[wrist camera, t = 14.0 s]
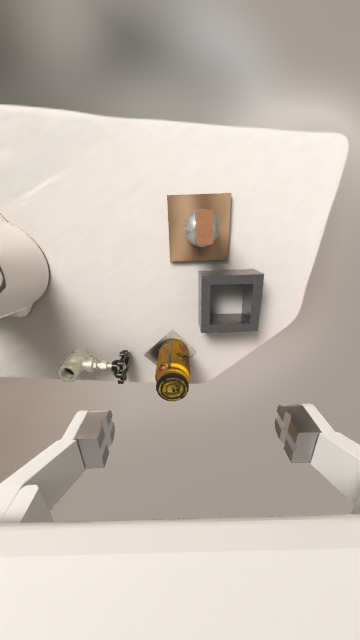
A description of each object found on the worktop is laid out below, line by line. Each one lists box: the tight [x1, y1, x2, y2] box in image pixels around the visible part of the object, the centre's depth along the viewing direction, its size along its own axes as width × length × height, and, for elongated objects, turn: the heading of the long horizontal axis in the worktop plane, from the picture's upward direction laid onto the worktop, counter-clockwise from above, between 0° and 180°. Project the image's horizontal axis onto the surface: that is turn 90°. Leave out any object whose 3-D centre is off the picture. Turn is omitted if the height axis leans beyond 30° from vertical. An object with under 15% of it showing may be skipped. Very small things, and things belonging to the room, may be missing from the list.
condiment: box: [144, 330, 196, 401], centre depth 39 cm, size 7×8×12 cm
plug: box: [184, 209, 219, 247], centre depth 31 cm, size 5×5×9 cm
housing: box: [199, 269, 264, 333], centre depth 38 cm, size 10×10×5 cm
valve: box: [57, 348, 129, 384], centre depth 42 cm, size 7×7×12 cm
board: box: [167, 193, 231, 261], centre depth 35 cm, size 10×10×1 cm
